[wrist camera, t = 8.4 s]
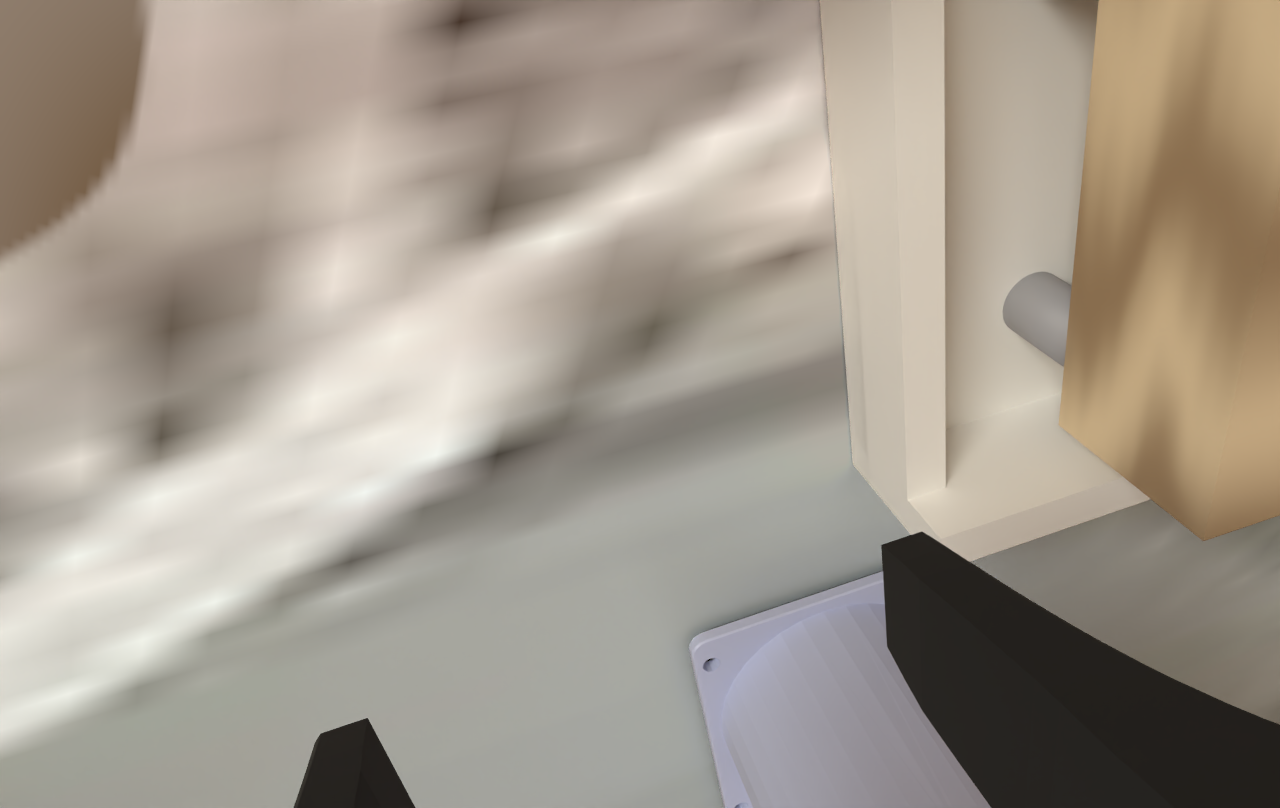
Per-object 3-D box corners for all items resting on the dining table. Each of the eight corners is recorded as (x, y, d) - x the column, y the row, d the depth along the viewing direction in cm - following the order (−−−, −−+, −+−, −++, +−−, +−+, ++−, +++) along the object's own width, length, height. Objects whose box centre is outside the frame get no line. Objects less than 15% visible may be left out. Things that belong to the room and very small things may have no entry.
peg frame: (1208, 349, 26) (1350, 430, 23) (852, 464, 25) (940, 571, 21) (1335, -366, 18) (1599, -427, 14) (801, -250, 16) (935, -283, 13)
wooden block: (1204, 378, 23) (1375, 482, 19) (1058, 425, 22) (1202, 540, 18) (1317, -203, 16) (1611, -222, 12) (1113, -158, 16) (1355, -163, 12)
